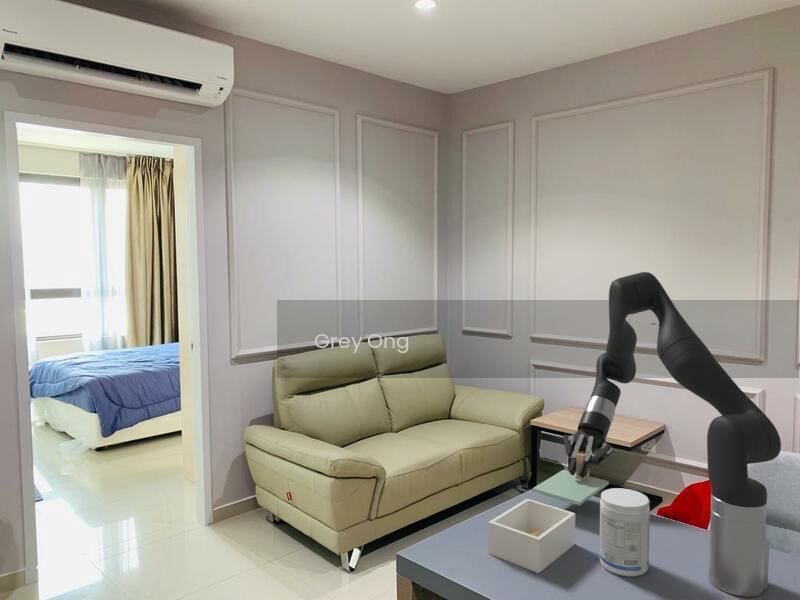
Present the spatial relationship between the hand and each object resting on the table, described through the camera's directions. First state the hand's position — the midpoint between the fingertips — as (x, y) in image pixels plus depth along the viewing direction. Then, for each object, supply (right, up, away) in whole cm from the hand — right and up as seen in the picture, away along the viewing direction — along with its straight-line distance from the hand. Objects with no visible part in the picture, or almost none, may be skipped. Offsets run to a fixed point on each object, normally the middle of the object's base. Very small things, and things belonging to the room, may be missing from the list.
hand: (576, 474), depth 151 cm
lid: (-2, -4, -2) cm, 4 cm away
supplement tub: (+1, -10, -29) cm, 31 cm away
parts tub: (-16, -10, -22) cm, 29 cm away
